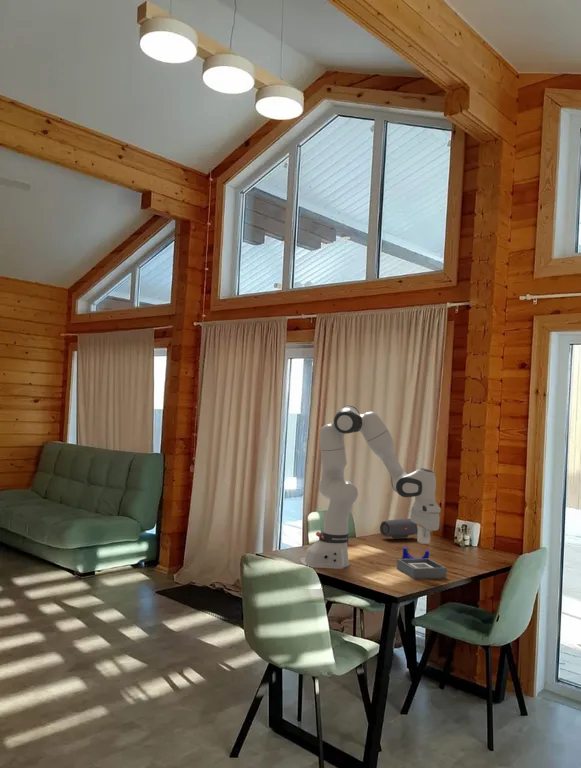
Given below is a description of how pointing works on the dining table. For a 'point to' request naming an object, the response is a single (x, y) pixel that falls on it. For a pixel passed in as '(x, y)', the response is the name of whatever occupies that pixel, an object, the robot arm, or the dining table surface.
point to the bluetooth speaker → (398, 528)
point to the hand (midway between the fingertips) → (423, 536)
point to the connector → (422, 535)
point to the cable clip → (408, 556)
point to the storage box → (421, 568)
